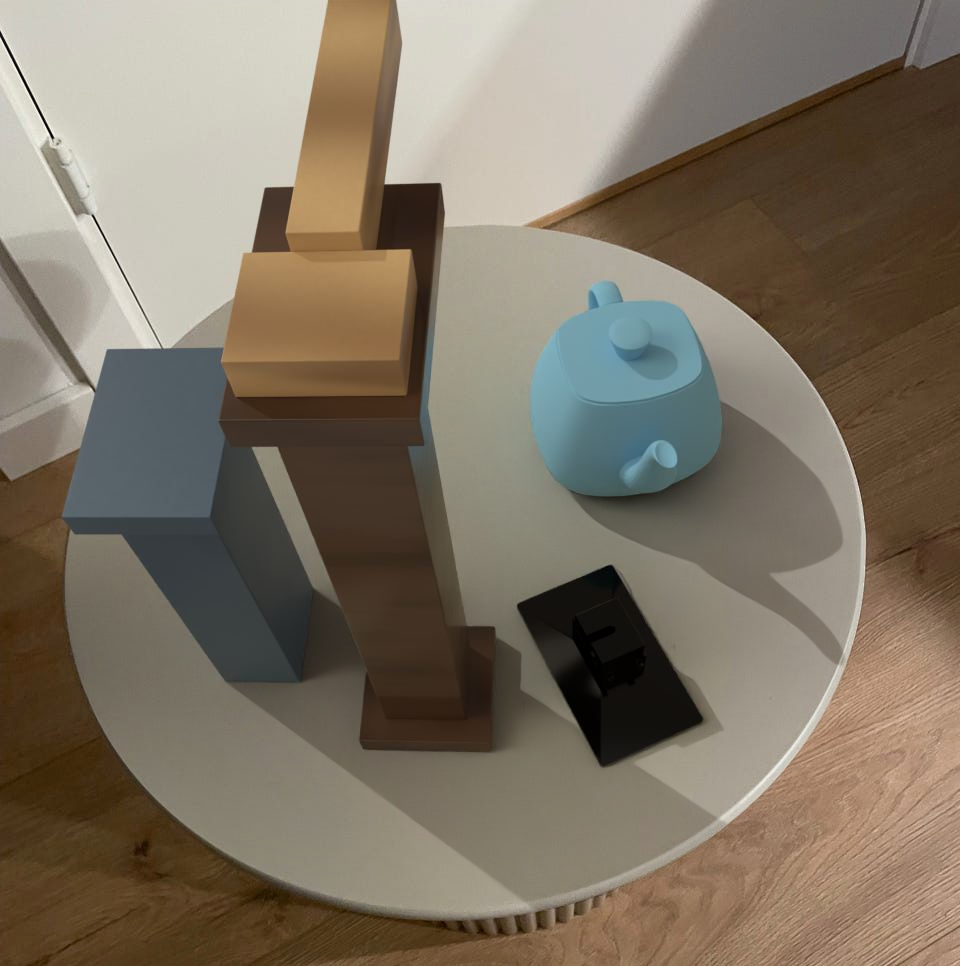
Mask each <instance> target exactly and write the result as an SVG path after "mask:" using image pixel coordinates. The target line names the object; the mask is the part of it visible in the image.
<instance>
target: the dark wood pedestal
mask: <svg viewBox="0 0 960 966" xmlns="http://www.w3.org/2000/svg"><path fill="white" fill-rule="evenodd" d="M293 189H294V186H267V187H264V188H263V194H262V198H261V204H260V208H259V213H258V217H257V218H258V219H257V224H256V229H255V234H254V239H253V244H252V248H251V253H259V252H291V250H290V247H289V243H288V240H287V237H286V227H287V222H288V216H289V211H290V205H291V200H292V195H293ZM445 218H446V210H445V201H444V194H443V185H442V183H441V182H419V183H418V182H416V183H385V184H384V192H383V200H382V208H381V216H380V224H379V232H378V240H377V247H376V250H402V249H411V250H412V256H413V262H414V268H415V274H416V280H417V286H418V290H417V300H416V310H415V320H414V330H413V340H412V350H411V360H410V370H409V380H408V390H407V395H406V396H312V397H236V396H235V394H234V392H233V389H232V387H231V384H230V382H229V380H228V377H227V378H226V383H225V388H224V393H223V398H222V403H221V408H220V413H219V418H218V422H219V425H220V427H221V429H222V431H223V433H224V435H225V437H226V440H227V442H228V444H229V446H230V447H252V448H277V450H278V453H279V455H280V458H281V460H282V463H283V465H284V468H285V470H286V473H287V475H288V478H289V480H290V483H291V485H292V488H293V491H294V493H295V495H296V498H297V500H298V503H299V504H300V508H301V510H302V513H303V516H304V518H305V520H306V523H307V525H308V529H309V530H310V533H311V535H312V538H313V540H314V543H315V545H316V548H317V550H318V553H319V555H320V558H321V561H322V563H323V565H324V569H325V570H326V573H327V576H328V578H329V580H330V582H331V585H332V586H331V587H332V588H333V590H334V593H335V595H336V598H337V600H338V604H339V606H340V608H341V610H342V613H343V616H344V618H345V620H346V622H347V625H348V628H349V631H350V633H351V636H352V638H353V640H354V643H355V645H356V648H357V650H358V653H359V655H360V658H361V661H362V663H363V666H364V668H365V679H364V686H363V687H364V688H363V697H362V706H361V717H360V724H359V725H360V726H359V735H358V736H359V737H358V742H359V744H360V747H361V748H362V750H364V751H366V750H367V751H409V752H411V751H415V752H416V751H417V752H458V753H459V752H462V753H463V752H464V753H465V752H467V753H468V752H469V753H492V746H493V726H494V725H493V724H494V703H495V702H494V701H495V681H496V680H495V679H496V678H495V677H496V659H497V658H496V657H497V630H496V626H495V625H467V619H466V615H465V608H464V603H463V598H462V592H461V586H460V580H459V575H458V570H457V564H456V557H455V552H454V547H453V541H452V535H451V530H450V524H449V518H448V512H447V507H446V501H445V495H444V491H443V485H442V479H441V473H440V469H439V461H438V456H437V451H436V444H435V439H434V434H433V428H432V422H431V417H430V410H429V400H430V390H431V379H432V367H433V357H434V356H433V355H434V344H435V333H436V332H435V331H436V321H437V311H438V297H439V288H440V287H439V286H440V274H441V263H442V253H443V240H444V232H445V231H444V230H445Z"/></svg>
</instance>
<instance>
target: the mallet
mask: <svg viewBox="0 0 960 966" xmlns="http://www.w3.org/2000/svg"><path fill="white" fill-rule="evenodd" d="M397 3H398V2H397V0H327V3H326V7H325V8H326V9H325V15H324V20H323V25H322V31H321V36H320V41H319V47H318V51H317V52H318V53H317V59H316V63H315V70H314V74H313V80H312V86H311V91H310V96H309V102H308V108H307V113H306V117H305V124H304V130H303V134H302V139H301V140H302V141H301V146H300V151H299V156H298V161H297V162H298V163H297V167H296V173H295V180H294V184H293V187H294V189H293V195H292V200H291V205H290V211H289V216H288V222H287V227H286V237H287V240H288V243H289V247H290V250H291V252H259V253H252V252H243V253H242V258H241V262H240V268H239V271H238V277H237V281H236V287H235V290H234V296H233V301H232V307H231V311H230V315H229V320H228V326H227V329H226V335H225V339H224V345H223V348H224V349H223V354H222V359H221V363H222V366H223V368H224V370H225V373H226V375H227V377H228V380H229V382H230V384H231V387H232V389H233V392H234V394H235V396H236V397H312V396H406V395H407V390H408V380H409V370H410V360H411V350H412V340H413V330H414V320H415V310H416V300H417V290H418V286H417V280H416V274H415V268H414V262H413V256H412V250H411V249H402V250H376V247H377V240H378V232H379V224H380V216H381V208H382V200H383V192H384V184H386V177H387V176H386V175H387V169H388V160H389V152H390V144H391V136H392V129H393V128H392V127H393V120H394V113H395V106H396V105H395V103H396V97H397V89H398V81H399V73H400V65H401V58H402V57H401V56H402V49H403V39H402V32H401V31H402V30H401V25H400V24H401V23H400V17H399V11H398V4H397Z"/></svg>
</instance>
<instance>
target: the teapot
mask: <svg viewBox="0 0 960 966" xmlns="http://www.w3.org/2000/svg"><path fill="white" fill-rule="evenodd" d="M587 308H588V309H587V310H586V311H583V312H581V313H578V314H576V315H573V316H572V317H569V318H568V319H567V320H565V321H564V322H563V323H561V325H559V327H557V329H556V330H555V332H554V333H553V334H552V335H551V337H550V339H549V340H548V341H547V344H546V345H545V346H544V348H543V350H542V351H541V353H540V356H539V358H538V359H537V361H536V364H535V367H534V370H533V376H532V379H531V383H530V390H529V413H530V419H531V421H530V422H531V427H532V432H533V436H534V440H535V444H536V446H537V448H538V451H539V453H540V455H541V458H542V461H543V463H544V464H545V466H546V469H547V470H548V472H549V474H550V475H551V476H552V478H553V479H555V481H556V482H558V483H559V484H561V485H562V486H563V487H564V488H566V489H567V490H570V491H572V492H573V493H577V494H580V495H585V496H593V497H626V496H635V495H640V494H652V493H656V492H661V491H663V490H666V489H667V488H669V487H670V486H671V485H673V484H676V483H678V482H680V481H682V480H684V479H686V478H688V477H690V476H691V475H694V474H695V473H697V472H699V471H700V470H702V469H703V468H704V467H705V466H707V464H709V463H710V462H711V461H712V459H713V457H714V456H715V455H716V454H717V452H718V450H719V447H720V446H721V445H720V444H721V439H722V430H723V415H722V408H721V400H720V396H719V395H720V394H719V391H718V386H717V381H716V378H715V374H714V371H713V368H712V365H711V362H710V360H709V358H708V355H707V353H706V351H705V348H704V346H703V343H702V342H701V340H700V338H699V335H698V334H697V332H696V330H695V328H694V327H693V325H692V322H691V321H690V319H689V317H688V315H687V314H686V313H685V311H684V310H683V309H682V308H681V307H680V306H678V305H676V304H674V303H672V302H669V301H663V300H654V299H652V300H650V299H649V300H645V299H643V300H630V301H628V300H627V301H624V298H623V296H622V293H621V291H620V289H619V286H618V285H617V284H616V283H615V282H614V281H612V280H600V281H597V282H594V283H593V284H592V285H590V287H589V288H588V291H587Z"/></svg>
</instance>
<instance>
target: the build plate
mask: <svg viewBox="0 0 960 966" xmlns="http://www.w3.org/2000/svg"><path fill="white" fill-rule="evenodd" d="M626 581H627V580H626V579H625V578H624V576H623V575H622V573H621V572H620V571H619V570H617V569H616V568H615V566H614V565H613V564H608V565H605V566H603V567H601V568H597V569H594V570H593V571H591V572H589V573H586V574H584V575H581V576H579V577H576V578H574V579H572V580H570V581H567V582H565V583H562V584H560V585H557V586H555V587H553V588H550V589H548V590H546V591H543V592H541V593H538V594H537V595H534V596H532V597H529V598H526V599H525V600H522V601H519V602H518V603H517V604H516V609H517V611H518V614H519V615H520V618H521V619H522V621H523V623H524V625H525V627H526V628H527V631H528V633H529V635H530V636H531V638H532V640H533V642H534V644H535V645H536V648H537V649H538V651H539V654H540V655H541V658H542V659H543V661H544V663H545V665H546V667H547V669H548V671H549V672H550V674H551V676H552V678H553V680H554V682H555V684H556V686H557V688H558V689H559V692H560V693H561V695H562V697H563V699H564V700H565V703H566V704H567V706H568V708H569V711H570V712H571V714H572V716H573V718H574V720H575V722H576V724H577V726H578V728H579V730H580V731H581V734H582V735H583V738H584V739H585V741H586V744H587V746H588V747H589V749H590V750H591V752H592V754H593V756H594V758H595V760H596V762H597V764H598V765H599V767H600V768H607V767H608V766H611V765H613V764H615V763H618V762H620V761H622V760H625V759H626V758H629V757H631V756H634V755H635V754H638V753H640V752H642V751H644V750H647V749H649V748H652V747H653V746H655V745H658V744H661V743H662V742H664V741H667V740H670V739H671V738H674V737H675V736H677V735H680V734H683V733H684V732H687V731H690V730H691V729H694V728H696V727H698V726H701V725H702V723H703V722H704V717H703V715H702V714H701V712H700V710H699V708H698V706H697V705H696V704H695V701H694V700H693V698H692V697H691V694H690V693H689V692H688V690H687V688H686V686H685V685H684V683H683V681H682V680H681V678H680V677H679V674H678V673H677V671H676V670H675V668H674V666H673V664H672V663H671V661H670V659H669V658H668V656H667V654H666V653H665V651H664V649H663V647H662V646H661V644H660V642H659V641H658V639H657V637H656V635H655V634H654V632H653V631H652V629H651V627H650V626H649V624H648V622H647V620H646V618H645V617H644V615H643V614H642V612H641V610H640V609H639V607H638V605H637V604H636V601H635V600H634V598H633V597H632V590H631V588H630V587H629V586H630V585H629V584H628V583H627V582H626Z"/></svg>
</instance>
